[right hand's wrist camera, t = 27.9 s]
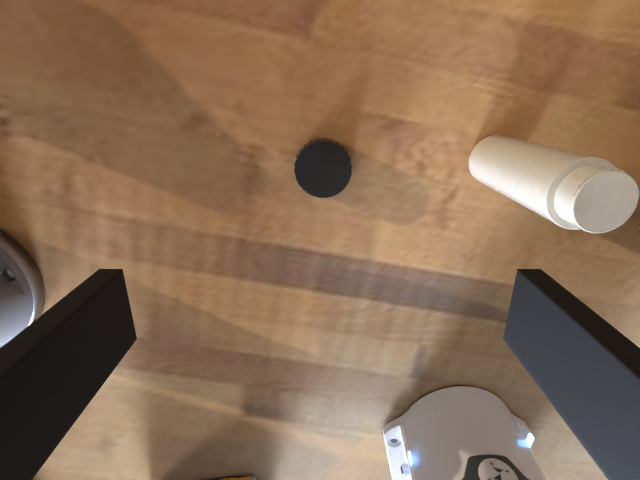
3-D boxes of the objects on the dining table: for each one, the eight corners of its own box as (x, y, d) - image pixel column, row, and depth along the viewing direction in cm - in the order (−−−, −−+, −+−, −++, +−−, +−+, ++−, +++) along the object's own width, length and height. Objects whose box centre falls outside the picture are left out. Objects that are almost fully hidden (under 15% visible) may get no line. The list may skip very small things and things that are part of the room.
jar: (527, 144, 37) (665, 178, 22) (502, 190, 39) (616, 250, 24) (483, 127, 36) (594, 151, 22) (460, 174, 38) (549, 226, 23)
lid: (294, 191, 39) (293, 197, 36) (296, 136, 37) (294, 138, 35) (348, 194, 39) (350, 199, 37) (352, 138, 37) (354, 141, 35)
